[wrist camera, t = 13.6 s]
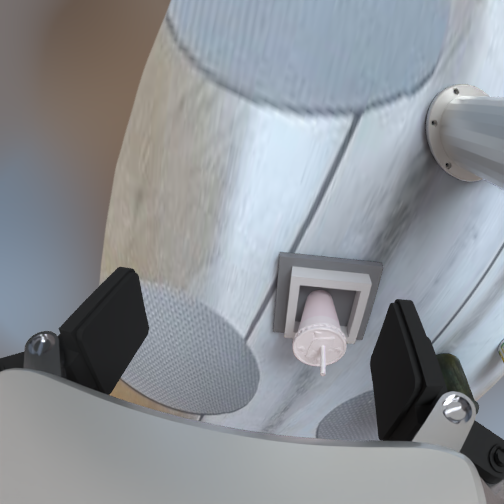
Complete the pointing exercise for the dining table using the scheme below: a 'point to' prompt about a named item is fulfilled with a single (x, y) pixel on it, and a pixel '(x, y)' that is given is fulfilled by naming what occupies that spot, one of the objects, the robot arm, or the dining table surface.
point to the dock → (332, 281)
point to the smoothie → (319, 333)
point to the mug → (455, 376)
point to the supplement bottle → (501, 350)
